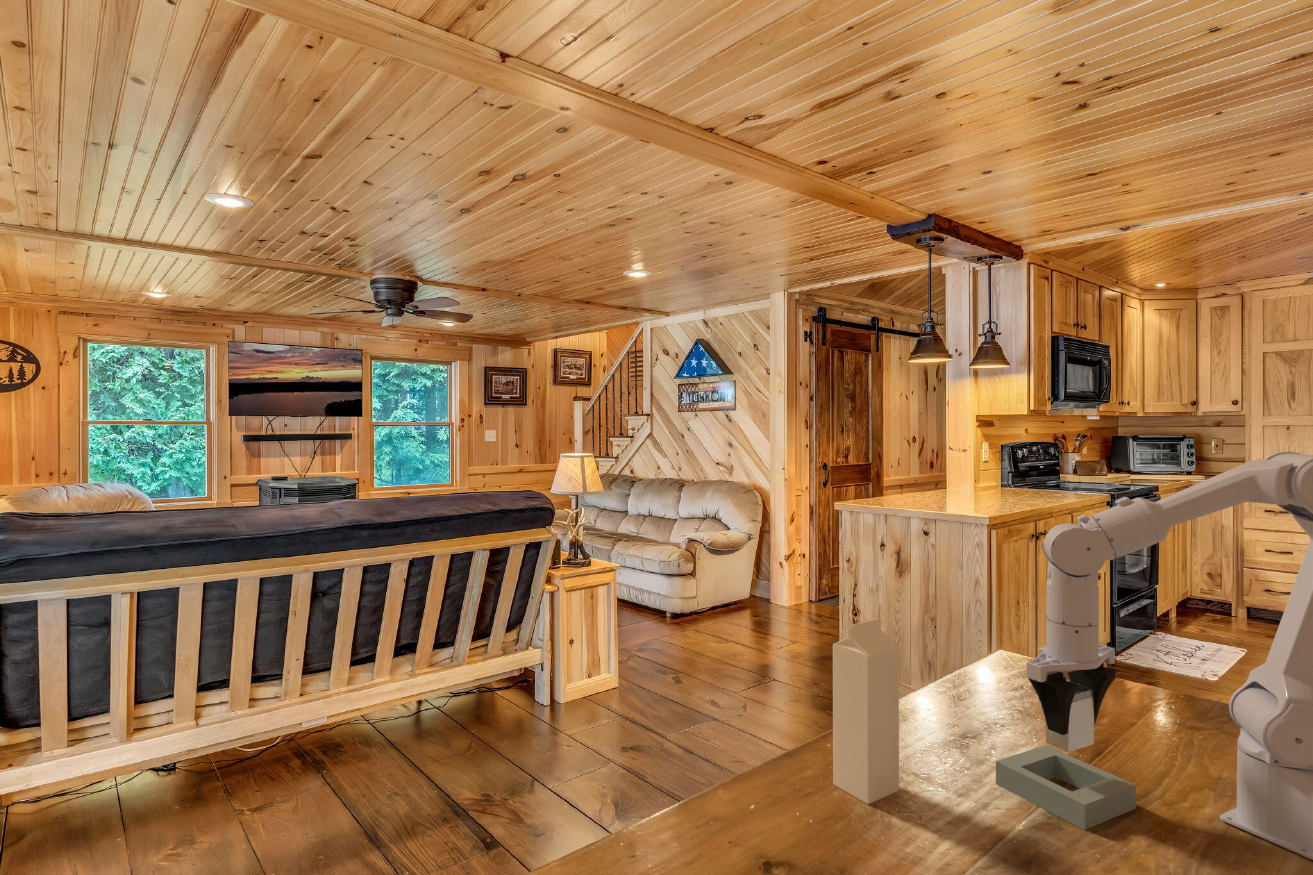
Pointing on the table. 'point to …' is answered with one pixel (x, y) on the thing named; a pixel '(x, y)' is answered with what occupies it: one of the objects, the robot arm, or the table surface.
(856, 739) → the milk
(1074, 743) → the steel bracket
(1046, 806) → the well block
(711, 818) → the table surface
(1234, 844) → the table surface
